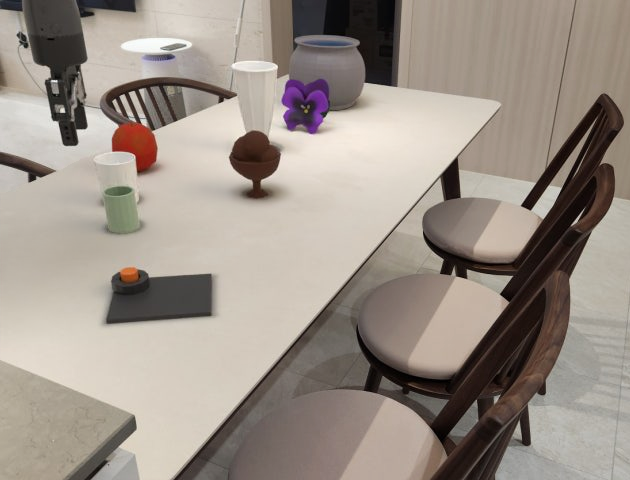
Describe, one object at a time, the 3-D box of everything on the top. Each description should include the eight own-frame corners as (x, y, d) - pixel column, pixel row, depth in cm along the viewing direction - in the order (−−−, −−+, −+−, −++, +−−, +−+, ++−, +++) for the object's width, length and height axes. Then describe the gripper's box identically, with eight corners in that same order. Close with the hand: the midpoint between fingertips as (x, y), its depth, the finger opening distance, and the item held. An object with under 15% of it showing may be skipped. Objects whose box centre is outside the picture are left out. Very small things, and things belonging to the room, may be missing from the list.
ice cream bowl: (292, 194, 141) (291, 128, 133) (258, 210, 133) (254, 140, 125) (256, 183, 146) (253, 118, 138) (221, 198, 137) (215, 130, 130)
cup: (267, 141, 173) (264, 59, 162) (288, 153, 165) (286, 67, 154) (228, 148, 166) (222, 62, 156) (248, 161, 159) (243, 72, 148)
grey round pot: (310, 90, 224) (310, 31, 214) (375, 100, 216) (378, 39, 206) (274, 106, 204) (272, 41, 194) (345, 117, 196) (346, 50, 186)
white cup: (111, 214, 128) (103, 167, 123) (95, 202, 133) (87, 156, 128) (148, 205, 133) (142, 159, 128) (132, 193, 137) (125, 149, 132)
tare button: (120, 283, 100) (118, 275, 99) (122, 275, 102) (121, 267, 101) (137, 282, 100) (136, 274, 99) (139, 274, 102) (138, 266, 102)
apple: (139, 179, 145) (131, 129, 139) (105, 171, 148) (96, 122, 142) (168, 166, 153) (163, 119, 147) (136, 159, 156) (129, 112, 150)
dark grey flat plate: (105, 327, 94) (102, 310, 92) (116, 286, 104) (113, 270, 103) (211, 319, 97) (210, 302, 95) (212, 279, 107) (210, 264, 106)
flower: (291, 137, 194) (274, 126, 181) (300, 88, 193) (283, 74, 180) (336, 143, 190) (321, 133, 177) (345, 93, 189) (331, 79, 176)
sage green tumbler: (107, 237, 119) (100, 197, 115) (111, 224, 124) (104, 186, 120) (138, 235, 120) (132, 196, 116) (141, 223, 125) (135, 185, 121)
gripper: (38, 21, 99) (60, 124, 107) (14, 37, 87) (40, 152, 95) (90, 22, 100) (107, 123, 108) (73, 38, 88) (94, 150, 96)
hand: (76, 136), depth 102 cm, fingers open, 8 cm apart
